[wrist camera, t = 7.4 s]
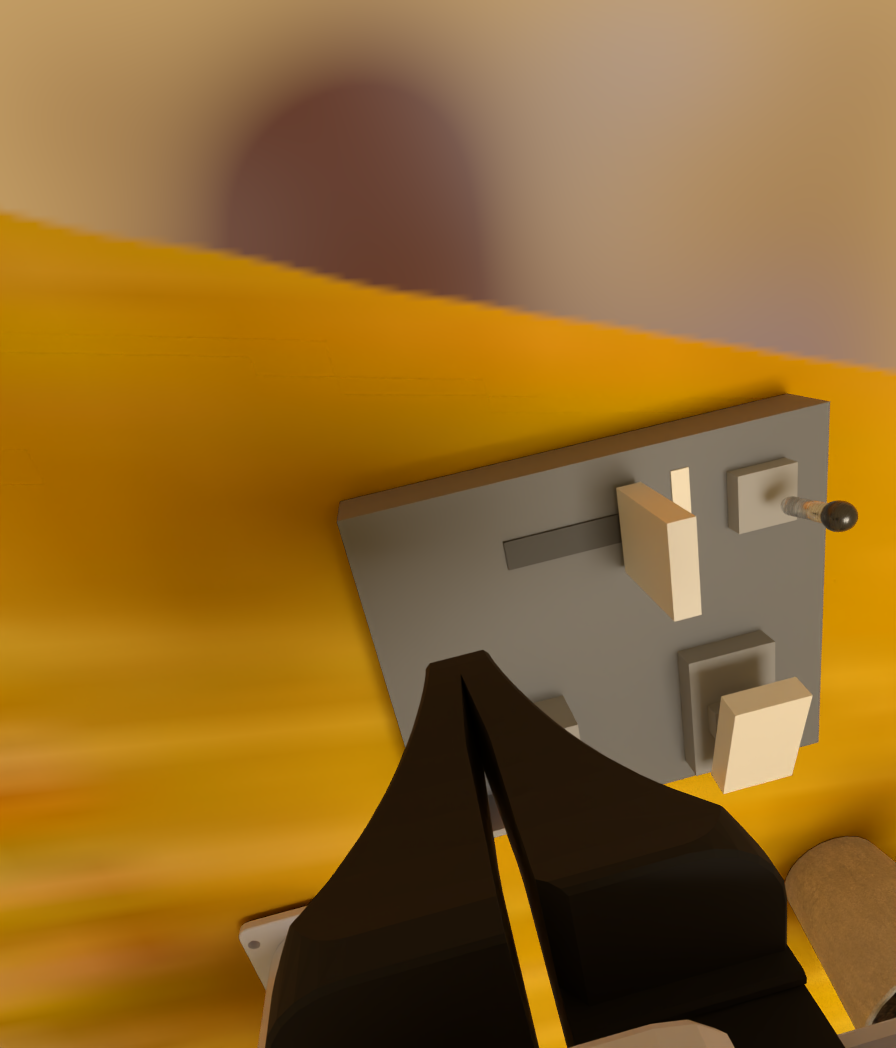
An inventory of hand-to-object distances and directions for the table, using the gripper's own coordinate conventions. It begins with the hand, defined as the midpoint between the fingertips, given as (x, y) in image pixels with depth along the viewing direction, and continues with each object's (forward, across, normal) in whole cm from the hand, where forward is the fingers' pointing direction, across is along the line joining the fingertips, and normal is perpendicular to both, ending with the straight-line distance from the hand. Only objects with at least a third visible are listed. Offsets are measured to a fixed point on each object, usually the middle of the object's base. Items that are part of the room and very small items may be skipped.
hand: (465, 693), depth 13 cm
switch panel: (+8, -6, +4) cm, 11 cm away
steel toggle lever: (+5, -11, 0) cm, 12 cm away
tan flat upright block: (+6, -6, 0) cm, 9 cm away
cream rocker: (+4, -10, +8) cm, 13 cm away
